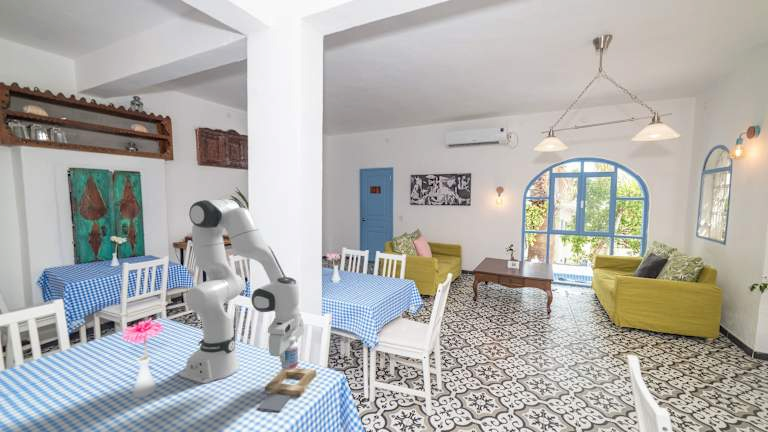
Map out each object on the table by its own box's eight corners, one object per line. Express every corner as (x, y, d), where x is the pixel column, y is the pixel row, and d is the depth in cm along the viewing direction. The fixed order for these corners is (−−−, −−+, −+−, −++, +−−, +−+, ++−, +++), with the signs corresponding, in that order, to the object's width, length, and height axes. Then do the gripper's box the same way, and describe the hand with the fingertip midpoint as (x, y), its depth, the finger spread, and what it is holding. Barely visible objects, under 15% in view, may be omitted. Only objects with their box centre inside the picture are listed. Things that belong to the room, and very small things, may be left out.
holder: (265, 392, 115) (264, 387, 115) (284, 371, 128) (284, 366, 128) (300, 396, 112) (300, 391, 112) (316, 374, 126) (316, 370, 126)
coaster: (257, 409, 105) (257, 407, 105) (270, 394, 113) (270, 393, 113) (279, 412, 104) (279, 410, 104) (291, 397, 112) (291, 395, 112)
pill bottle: (293, 371, 116) (292, 342, 115) (278, 369, 117) (277, 340, 116) (301, 363, 122) (300, 335, 121) (286, 361, 123) (285, 333, 122)
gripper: (293, 310, 129) (293, 342, 130) (264, 330, 109) (266, 369, 110) (307, 311, 128) (307, 344, 129) (281, 332, 108) (282, 370, 109)
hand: (288, 355), depth 119 cm, fingers closed on pill bottle, 6 cm apart
